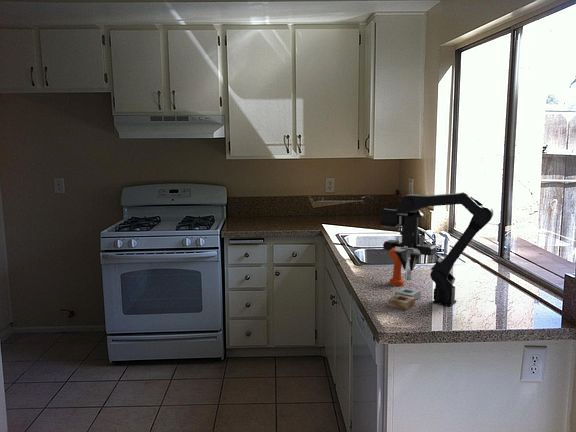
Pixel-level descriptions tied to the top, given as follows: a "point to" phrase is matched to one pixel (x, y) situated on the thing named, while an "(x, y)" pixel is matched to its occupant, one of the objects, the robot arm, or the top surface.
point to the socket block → (401, 301)
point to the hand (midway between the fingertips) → (408, 270)
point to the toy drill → (396, 269)
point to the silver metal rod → (408, 269)
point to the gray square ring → (409, 292)
